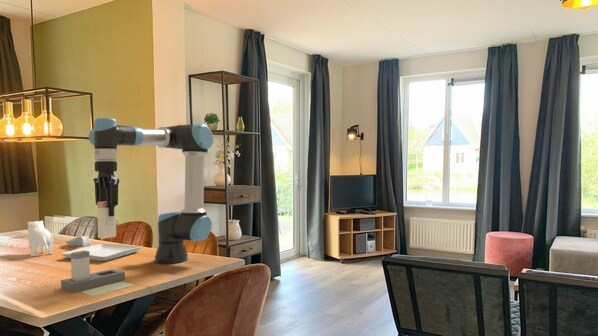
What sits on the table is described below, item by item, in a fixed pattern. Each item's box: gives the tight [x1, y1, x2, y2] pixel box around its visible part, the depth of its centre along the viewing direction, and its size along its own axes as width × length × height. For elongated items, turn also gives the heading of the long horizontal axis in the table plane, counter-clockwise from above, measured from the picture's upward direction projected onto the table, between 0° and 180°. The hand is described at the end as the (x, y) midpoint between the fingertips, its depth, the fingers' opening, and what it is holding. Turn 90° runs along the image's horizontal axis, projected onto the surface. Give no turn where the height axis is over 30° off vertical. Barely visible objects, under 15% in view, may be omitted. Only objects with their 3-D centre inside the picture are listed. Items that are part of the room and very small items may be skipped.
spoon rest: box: [65, 235, 93, 248], centre depth 240 cm, size 24×12×7 cm, turn 44°
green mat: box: [81, 281, 134, 297], centre depth 157 cm, size 16×8×1 cm, turn 144°
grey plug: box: [70, 250, 91, 282], centre depth 158 cm, size 5×4×13 cm
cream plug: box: [96, 201, 117, 240], centre depth 156 cm, size 5×4×13 cm
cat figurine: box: [23, 220, 55, 258], centre depth 221 cm, size 25×10×17 cm, turn 47°
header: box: [60, 268, 126, 294], centre depth 162 cm, size 20×9×4 cm, turn 144°
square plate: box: [60, 243, 143, 262], centre depth 217 cm, size 27×27×4 cm
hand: (107, 224), depth 156 cm, fingers closed on cream plug, 3 cm apart
